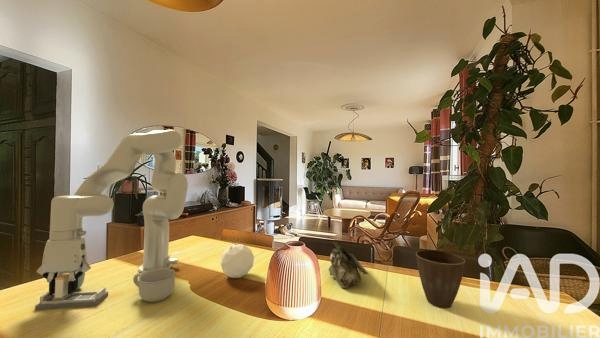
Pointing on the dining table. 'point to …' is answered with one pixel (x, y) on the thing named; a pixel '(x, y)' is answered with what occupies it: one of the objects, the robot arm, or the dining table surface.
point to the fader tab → (61, 287)
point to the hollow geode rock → (345, 267)
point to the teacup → (155, 284)
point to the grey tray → (72, 300)
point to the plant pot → (440, 276)
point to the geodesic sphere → (237, 260)
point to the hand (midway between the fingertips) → (63, 292)
